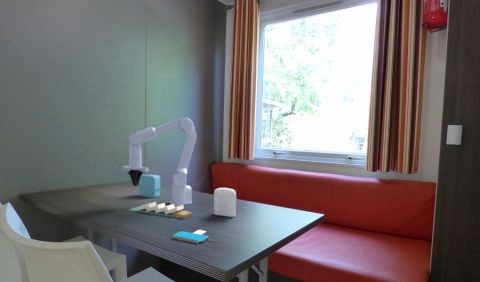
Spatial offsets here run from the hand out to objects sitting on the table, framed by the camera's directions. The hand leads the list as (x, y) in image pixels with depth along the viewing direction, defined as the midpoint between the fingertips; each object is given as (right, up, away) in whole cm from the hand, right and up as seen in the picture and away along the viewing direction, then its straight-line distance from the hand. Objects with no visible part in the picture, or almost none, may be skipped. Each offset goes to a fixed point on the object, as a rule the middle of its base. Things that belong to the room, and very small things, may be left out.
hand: (135, 185), depth 145 cm
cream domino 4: (+19, -10, -12) cm, 24 cm away
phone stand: (+35, -13, -38) cm, 53 cm away
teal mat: (+13, -11, -9) cm, 20 cm away
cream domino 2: (+9, -10, -8) cm, 16 cm away
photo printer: (+44, -12, -12) cm, 48 cm away
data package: (0, -10, +22) cm, 24 cm away
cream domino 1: (+5, -10, -6) cm, 12 cm away
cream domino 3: (+14, -10, -10) cm, 20 cm away
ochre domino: (+23, -10, -14) cm, 29 cm away
